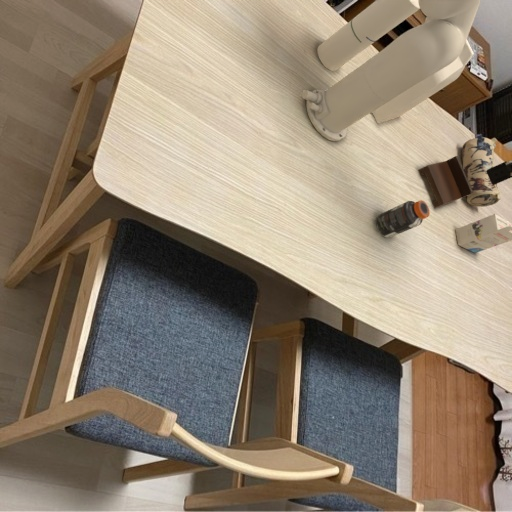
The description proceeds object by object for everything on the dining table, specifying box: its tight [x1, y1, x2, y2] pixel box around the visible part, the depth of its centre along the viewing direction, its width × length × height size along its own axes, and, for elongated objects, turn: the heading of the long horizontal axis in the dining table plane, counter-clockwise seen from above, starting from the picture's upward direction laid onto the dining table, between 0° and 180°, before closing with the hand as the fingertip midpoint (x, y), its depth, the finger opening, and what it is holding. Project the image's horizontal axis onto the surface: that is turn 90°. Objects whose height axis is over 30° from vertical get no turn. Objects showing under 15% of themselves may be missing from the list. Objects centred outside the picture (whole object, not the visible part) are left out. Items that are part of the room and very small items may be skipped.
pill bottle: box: [375, 199, 431, 239], centre depth 129 cm, size 6×6×11 cm
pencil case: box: [461, 133, 501, 208], centre depth 165 cm, size 22×8×10 cm, turn 173°
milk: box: [371, 39, 475, 124], centre depth 140 cm, size 12×12×26 cm
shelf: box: [418, 155, 473, 209], centre depth 153 cm, size 12×11×6 cm
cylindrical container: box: [316, 0, 421, 72], centre depth 131 cm, size 7×7×25 cm
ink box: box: [455, 213, 512, 254], centre depth 151 cm, size 8×5×15 cm, turn 89°
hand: (499, 174), depth 114 cm, fingers open, 9 cm apart
